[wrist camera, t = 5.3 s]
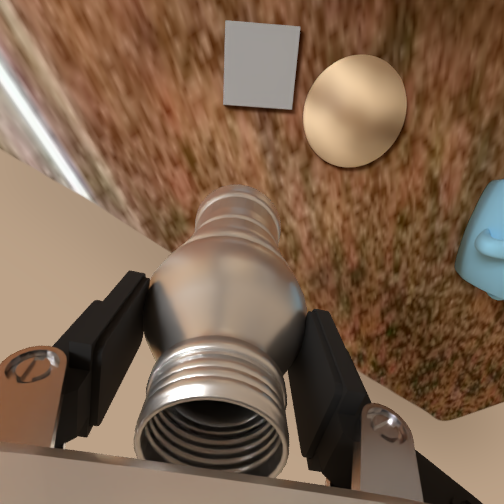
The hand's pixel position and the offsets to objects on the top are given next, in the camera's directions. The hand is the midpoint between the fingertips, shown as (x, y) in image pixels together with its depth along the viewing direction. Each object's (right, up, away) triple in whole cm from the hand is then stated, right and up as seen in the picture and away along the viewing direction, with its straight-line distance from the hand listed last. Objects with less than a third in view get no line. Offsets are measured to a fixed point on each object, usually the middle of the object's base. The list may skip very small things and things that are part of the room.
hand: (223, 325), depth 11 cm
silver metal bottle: (0, +6, +14) cm, 15 cm away
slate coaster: (+2, +24, +22) cm, 32 cm away
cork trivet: (+13, +19, +24) cm, 34 cm away
